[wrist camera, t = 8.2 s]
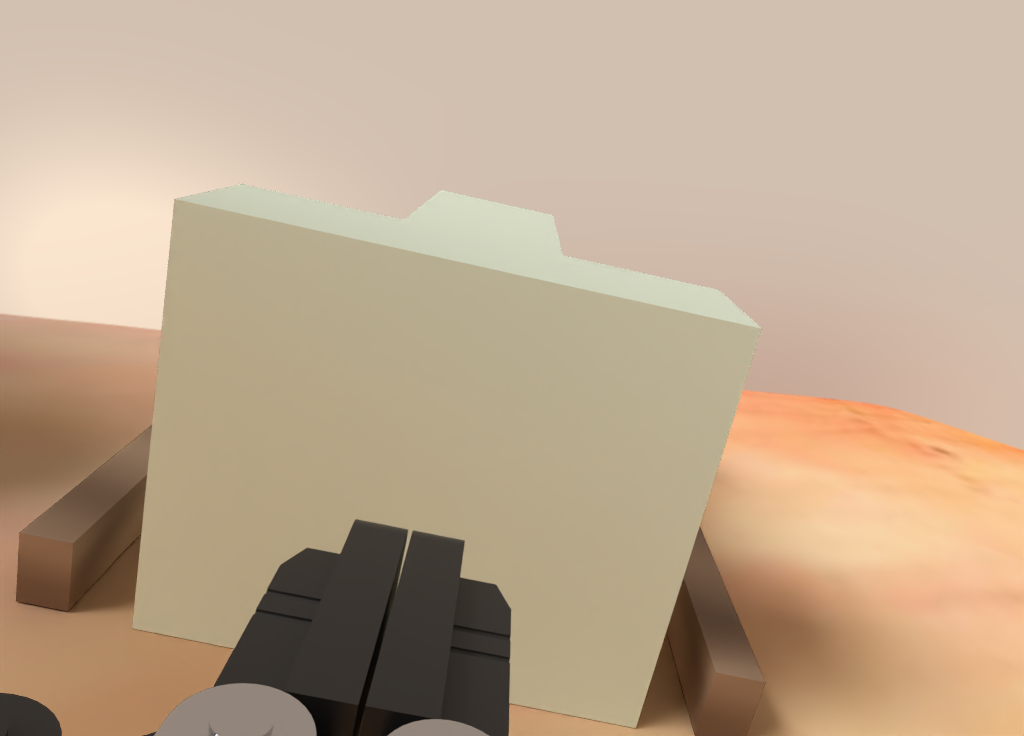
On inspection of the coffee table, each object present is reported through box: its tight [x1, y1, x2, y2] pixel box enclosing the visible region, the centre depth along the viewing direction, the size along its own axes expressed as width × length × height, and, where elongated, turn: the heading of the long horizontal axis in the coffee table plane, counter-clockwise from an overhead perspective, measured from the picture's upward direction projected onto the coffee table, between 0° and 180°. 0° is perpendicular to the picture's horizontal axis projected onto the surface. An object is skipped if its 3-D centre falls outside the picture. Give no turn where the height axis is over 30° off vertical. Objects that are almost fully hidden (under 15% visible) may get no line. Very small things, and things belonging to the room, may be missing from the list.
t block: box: [132, 184, 762, 728], centre depth 24 cm, size 13×12×10 cm
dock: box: [16, 425, 766, 736], centre depth 27 cm, size 16×17×4 cm
